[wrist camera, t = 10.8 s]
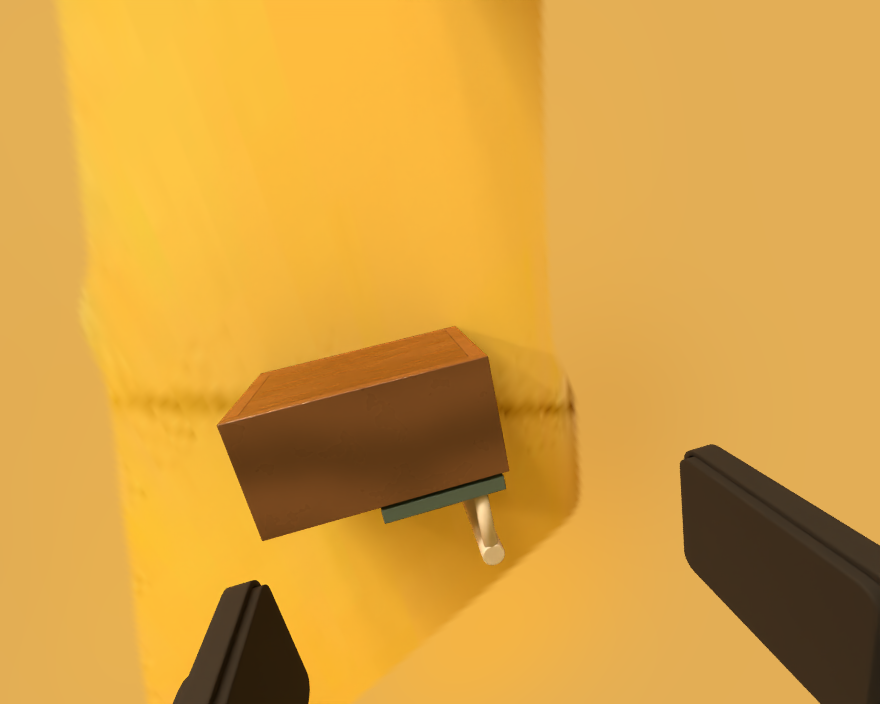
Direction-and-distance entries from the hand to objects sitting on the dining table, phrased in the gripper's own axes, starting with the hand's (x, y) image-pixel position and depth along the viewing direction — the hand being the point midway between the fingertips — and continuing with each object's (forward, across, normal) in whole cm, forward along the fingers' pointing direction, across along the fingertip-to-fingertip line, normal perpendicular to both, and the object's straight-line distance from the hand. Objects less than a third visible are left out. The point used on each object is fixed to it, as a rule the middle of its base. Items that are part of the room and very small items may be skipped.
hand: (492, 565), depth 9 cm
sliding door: (+25, +1, +13) cm, 29 cm away
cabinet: (+26, +4, +5) cm, 27 cm away
